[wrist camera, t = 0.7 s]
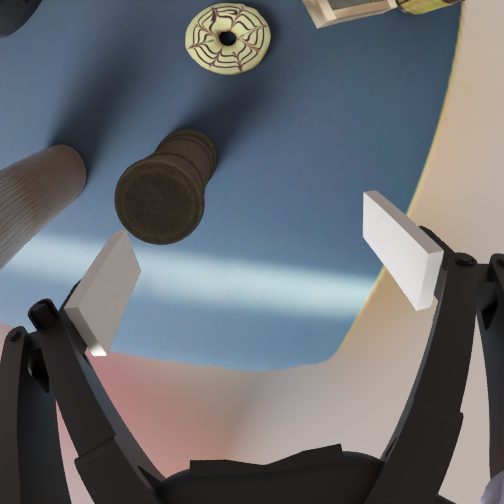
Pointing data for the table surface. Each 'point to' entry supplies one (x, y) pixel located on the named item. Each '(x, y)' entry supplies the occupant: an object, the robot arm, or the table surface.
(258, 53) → the decorated donut
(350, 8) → the caddy
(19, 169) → the vase
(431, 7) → the sauce bottle
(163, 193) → the container
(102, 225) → the table surface
